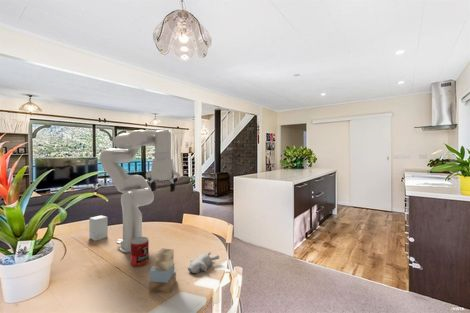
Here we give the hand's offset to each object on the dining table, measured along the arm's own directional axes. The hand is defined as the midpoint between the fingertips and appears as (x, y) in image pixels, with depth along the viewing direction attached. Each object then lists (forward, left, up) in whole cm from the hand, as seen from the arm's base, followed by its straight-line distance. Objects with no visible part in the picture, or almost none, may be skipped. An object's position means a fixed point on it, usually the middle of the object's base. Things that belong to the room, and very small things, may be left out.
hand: (162, 191), depth 110 cm
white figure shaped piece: (+22, -5, -34) cm, 40 cm away
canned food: (-9, -5, -34) cm, 35 cm away
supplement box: (-51, +21, -34) cm, 65 cm away
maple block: (+11, -21, -26) cm, 35 cm away
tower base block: (+10, -21, -34) cm, 41 cm away
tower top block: (+10, -21, -30) cm, 38 cm away
